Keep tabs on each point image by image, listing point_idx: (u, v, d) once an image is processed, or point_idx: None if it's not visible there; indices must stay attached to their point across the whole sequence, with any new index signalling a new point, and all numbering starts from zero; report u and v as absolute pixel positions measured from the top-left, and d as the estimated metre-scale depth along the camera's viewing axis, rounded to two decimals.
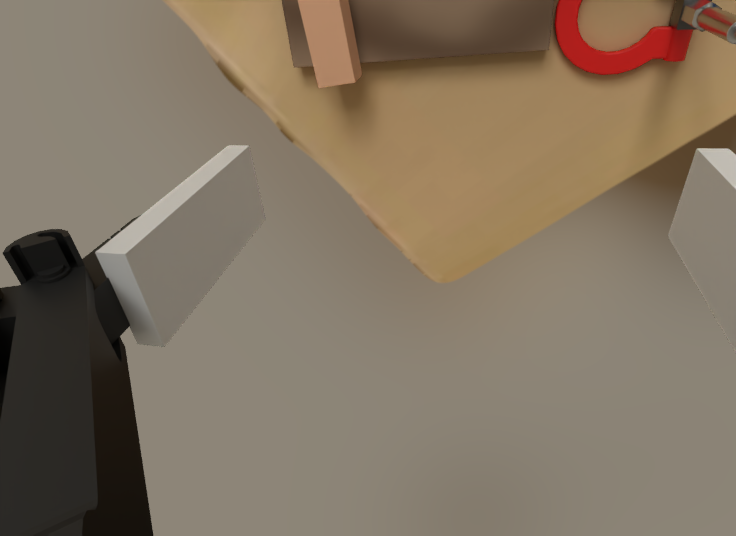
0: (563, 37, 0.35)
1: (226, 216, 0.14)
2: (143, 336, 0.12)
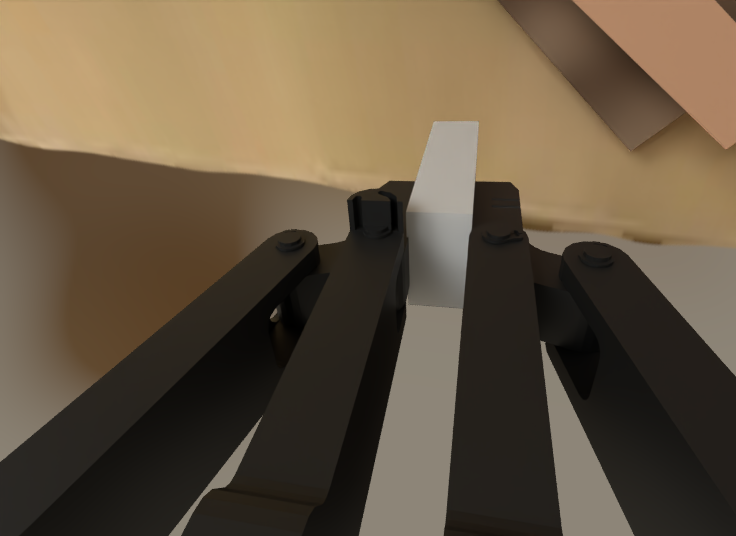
0: None
1: None
2: (418, 296, 0.12)
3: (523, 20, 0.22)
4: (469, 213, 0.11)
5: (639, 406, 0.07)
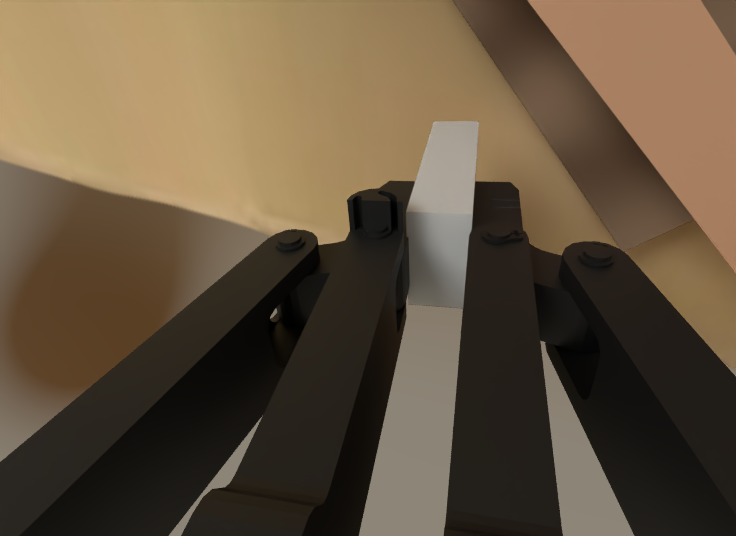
0: None
1: None
2: (418, 296, 0.12)
3: (514, 79, 0.17)
4: (468, 213, 0.11)
5: (639, 405, 0.07)
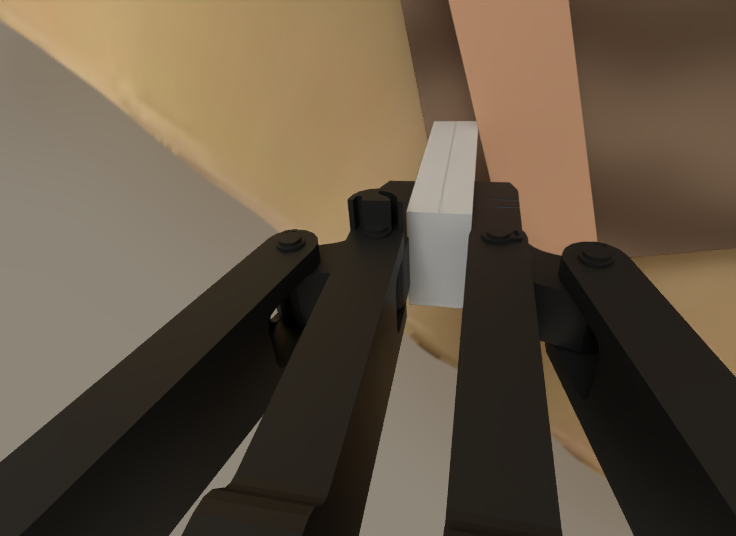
0: None
1: None
2: (419, 296, 0.12)
3: (423, 83, 0.17)
4: (468, 213, 0.11)
5: (639, 406, 0.07)
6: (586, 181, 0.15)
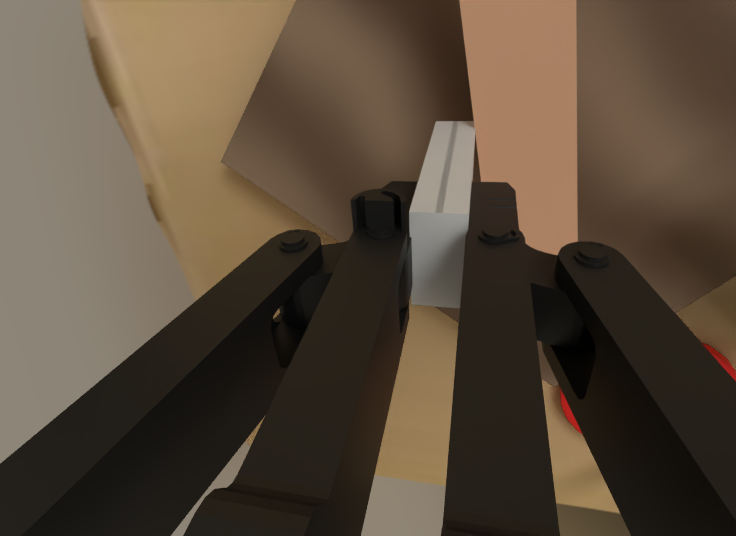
0: None
1: None
2: (421, 296, 0.12)
3: None
4: (465, 213, 0.11)
5: (634, 405, 0.07)
6: (573, 191, 0.16)
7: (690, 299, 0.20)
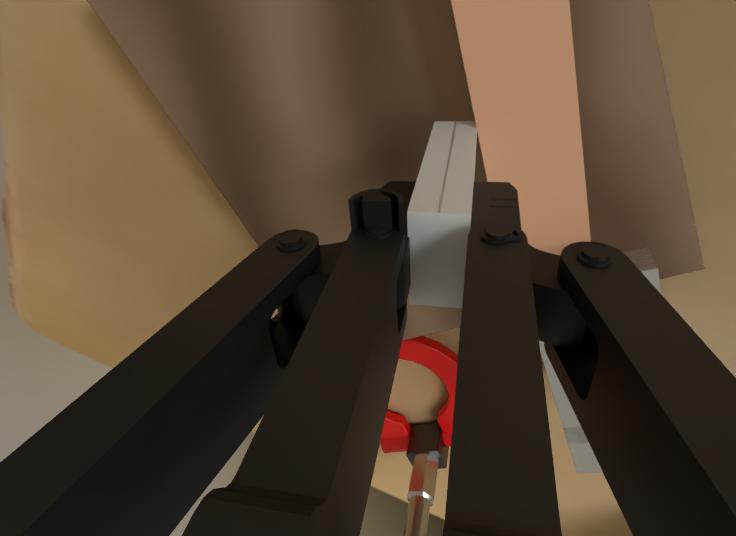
0: None
1: None
2: (420, 296, 0.12)
3: None
4: (467, 213, 0.11)
5: (638, 406, 0.07)
6: (581, 183, 0.15)
7: None
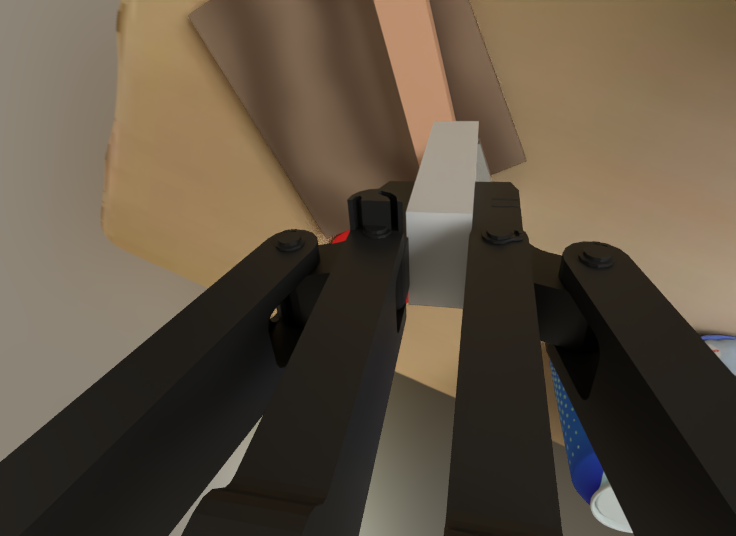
0: (339, 240, 0.44)
1: None
2: (419, 296, 0.12)
3: None
4: (469, 213, 0.11)
5: (639, 406, 0.07)
6: (447, 107, 0.32)
7: None
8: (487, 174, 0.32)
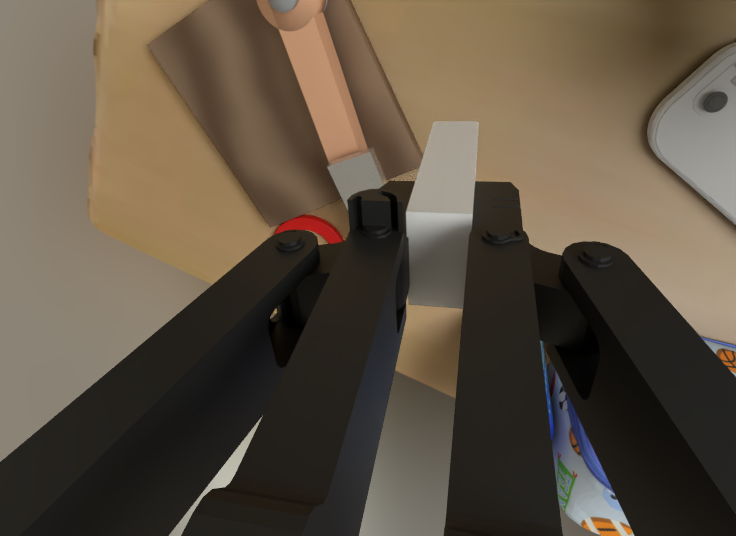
0: (281, 229, 0.52)
1: None
2: (418, 296, 0.12)
3: None
4: (469, 213, 0.11)
5: (638, 406, 0.07)
6: (347, 122, 0.39)
7: (329, 201, 0.48)
8: (378, 176, 0.39)
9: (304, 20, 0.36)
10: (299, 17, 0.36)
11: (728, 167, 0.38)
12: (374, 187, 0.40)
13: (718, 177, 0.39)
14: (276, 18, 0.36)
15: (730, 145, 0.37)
